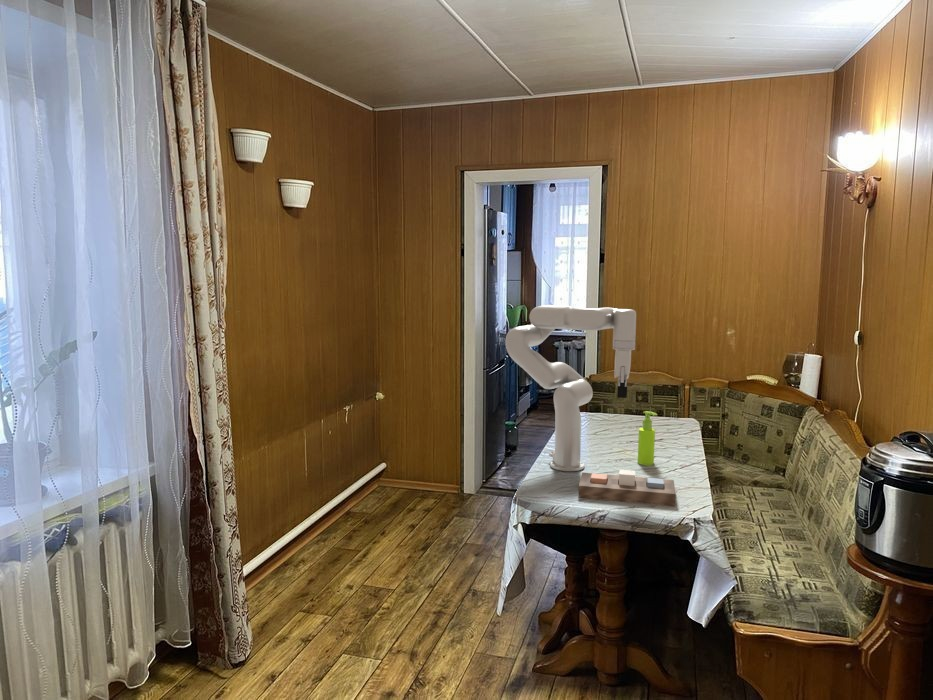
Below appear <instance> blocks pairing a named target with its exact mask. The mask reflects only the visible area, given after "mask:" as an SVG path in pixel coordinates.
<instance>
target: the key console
mask: <svg viewBox="0 0 933 700" xmlns="http://www.w3.org/2000/svg"><path fill="white" fill-rule="evenodd" d="M591 475H592V472H582V473H581V476H580V479H579V483H578V495H577V498H580V499H581V498H582V499H590V500H591V499H592V500H603V501H604V500H605V501H614V502H624V503H634V504H645V505H646V504H647V505H654V506H657V505H658V506H667V507H676V496H677V495H676V486H675V481H674V479H666V478H665V479H664V478H662V479H663V481H664V489H661V488H650V487H647V478H648V477H640V476H635V486H627V485H619V474H618V475H616V474H607V484H604V483H592V482H591Z"/></svg>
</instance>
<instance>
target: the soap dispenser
mask: <svg viewBox="0 0 933 700" xmlns="http://www.w3.org/2000/svg"><path fill="white" fill-rule="evenodd" d="M642 413H643V414H645V415H644V419H642V427H639V428H638V444H637V445H638V447H637V463H638V464H640V465H642V466H653V465H654V464H655V463H654V462H655V438H656V429H655V428H653V424H652V423H653V420H652V419H651V416H652V417H654V416H658V413H656V412H653V411H647V410H645V411H643V412H642Z"/></svg>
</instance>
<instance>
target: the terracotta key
mask: <svg viewBox="0 0 933 700" xmlns="http://www.w3.org/2000/svg"><path fill="white" fill-rule="evenodd" d="M591 473H592V472H591ZM607 475H608V473H607V474H605V473H596V472H595V473H594V472H593V473H592V475H591V482H592V483H604V484H607Z"/></svg>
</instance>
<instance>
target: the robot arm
mask: <svg viewBox="0 0 933 700" xmlns="http://www.w3.org/2000/svg"><path fill="white" fill-rule="evenodd" d="M528 318H529V322H530V324H527V325H520V326H515V327H513V328H511V329H510V330H508V332H507V333H506V337H505V344H504V345H505V348H506V352H507V354H508V356H509V357H510V358H511V359H512V360H513V362H514V363H515V364H517V365H518V366H519V367H520V368H522V369H523V370H524V371H525V373H527V374H528V375H529V376H530V378H532V379H533V380H534V381H535V382H536V383H537V384H538V385H539V386H540V387H542V388H543V389H545V390H552V389H553V390H554V389H555V390H554V393H553V407H554V412H555V413H554V415H555V417H554V420H555V424H554V429H555V431H554V449H553V450H551V451H550V452H549V453H548V456H549V457H550V458H552V460H551V461H550V465H549V466H550V468H552V469H553V470H557V471H562V472H579V471H582V470H583V469H584V468H585V463H584V462H582V461H581V449H582V448H581V447H582V443H581V442H582V415H581V412H580V411H581V410H580V407H581V406H583V405H586V404H587V403H589V402H590V401H591V400H592V398H593V396H594V395H593V394H594V392H593V388H592V386H591V384H590V383H589V381H587V380H586V379H585V378H584V377H583V376H582V375H581V374H579V373H578V372H577V371H576V370H575V369H574V368H573V367H572V366H570V365H568V364H567V363H565V362H562V361H555V362H550V361H548V360H547V359H546V358H545V357H543V355H541V354H540V353H539V352H538V351H535V349H532V348H531V347H536V346H539V345H541V344H542V343H543V342H544V341H545V340H546V339H547V338H548V337H549V336H550V335H551V334H552V333H553V332H554V331H555V330H556V329H558V330H573V331H576V330H577V331H601V330H602V331H603V330H608V329H609V330H610V329H613V333H612V350H615V355H614V370H613V371H614V374H613V375H614V376H613V377H614V379H617V378H618V379H617V380H618V385H617V392H616V393H617V394H616V395H617V396H616V397H617V398H619V399H620V398H621V399H627V397H628V385H627V384H628V379H629V378H630V372H631V363H632V351H635V350H636V332H637V311H636V310H635V309H631V308H629V309H628V308H616V307H615V308H614V307H609V306H607V307H598V308H597V307H596V308H574V307H573V306H571V305H554V304H546V305H539V306H538V305H537V306H536V307H534V308H533V309H532V310H530V313H529V317H528Z"/></svg>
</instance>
